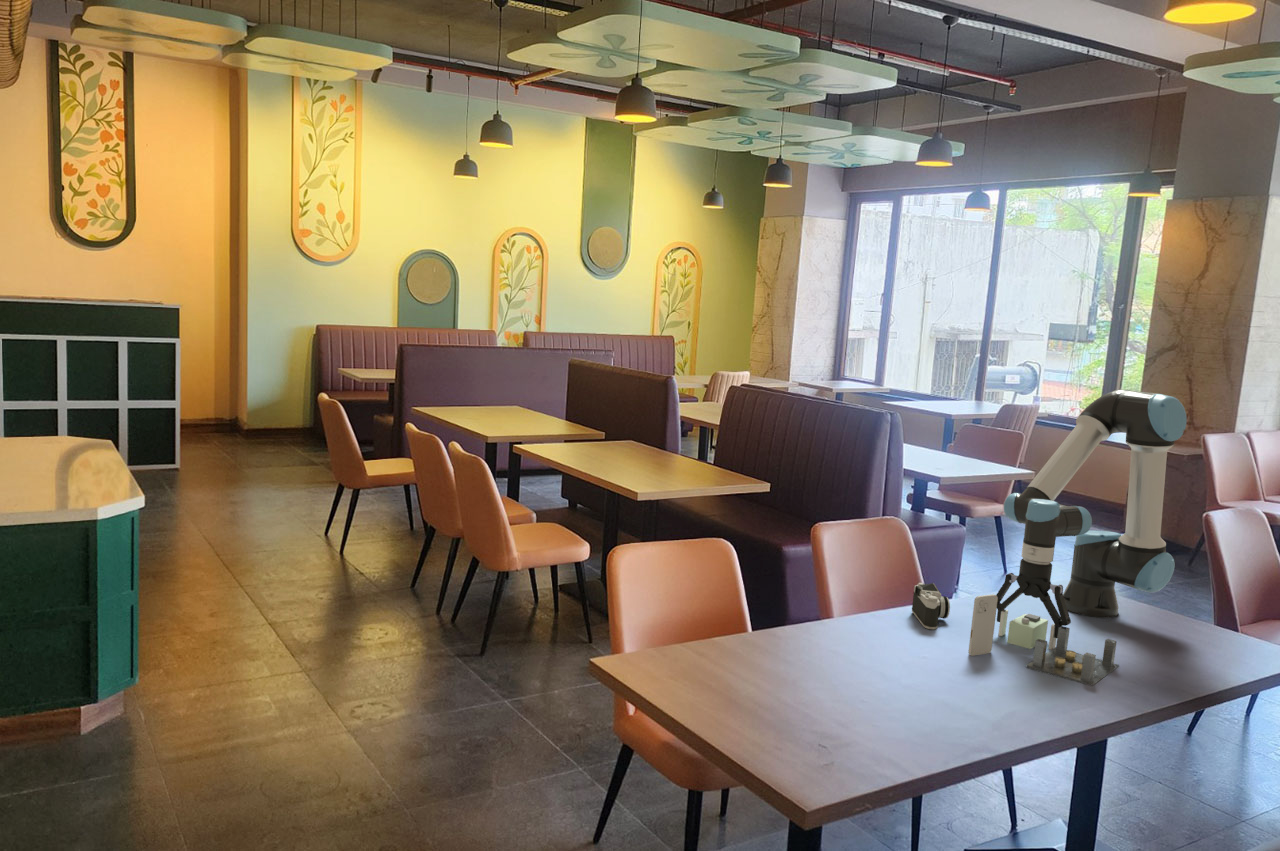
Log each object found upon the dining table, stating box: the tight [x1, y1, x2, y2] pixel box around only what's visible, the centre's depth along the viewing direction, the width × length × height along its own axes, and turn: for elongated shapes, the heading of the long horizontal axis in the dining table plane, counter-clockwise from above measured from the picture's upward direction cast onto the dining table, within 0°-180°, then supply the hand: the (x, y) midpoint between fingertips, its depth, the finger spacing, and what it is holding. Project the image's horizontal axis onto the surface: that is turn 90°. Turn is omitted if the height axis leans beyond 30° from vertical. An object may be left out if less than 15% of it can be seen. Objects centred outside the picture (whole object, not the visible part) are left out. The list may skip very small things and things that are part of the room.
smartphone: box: [968, 593, 998, 657], centre depth 239 cm, size 7×1×15 cm, turn 118°
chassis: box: [1026, 626, 1120, 687], centre depth 234 cm, size 19×15×7 cm
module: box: [1006, 613, 1049, 650], centre depth 251 cm, size 10×6×7 cm, turn 137°
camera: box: [911, 582, 951, 630], centre depth 264 cm, size 16×9×10 cm, turn 178°
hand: (1026, 642), depth 252 cm, fingers open, 12 cm apart
